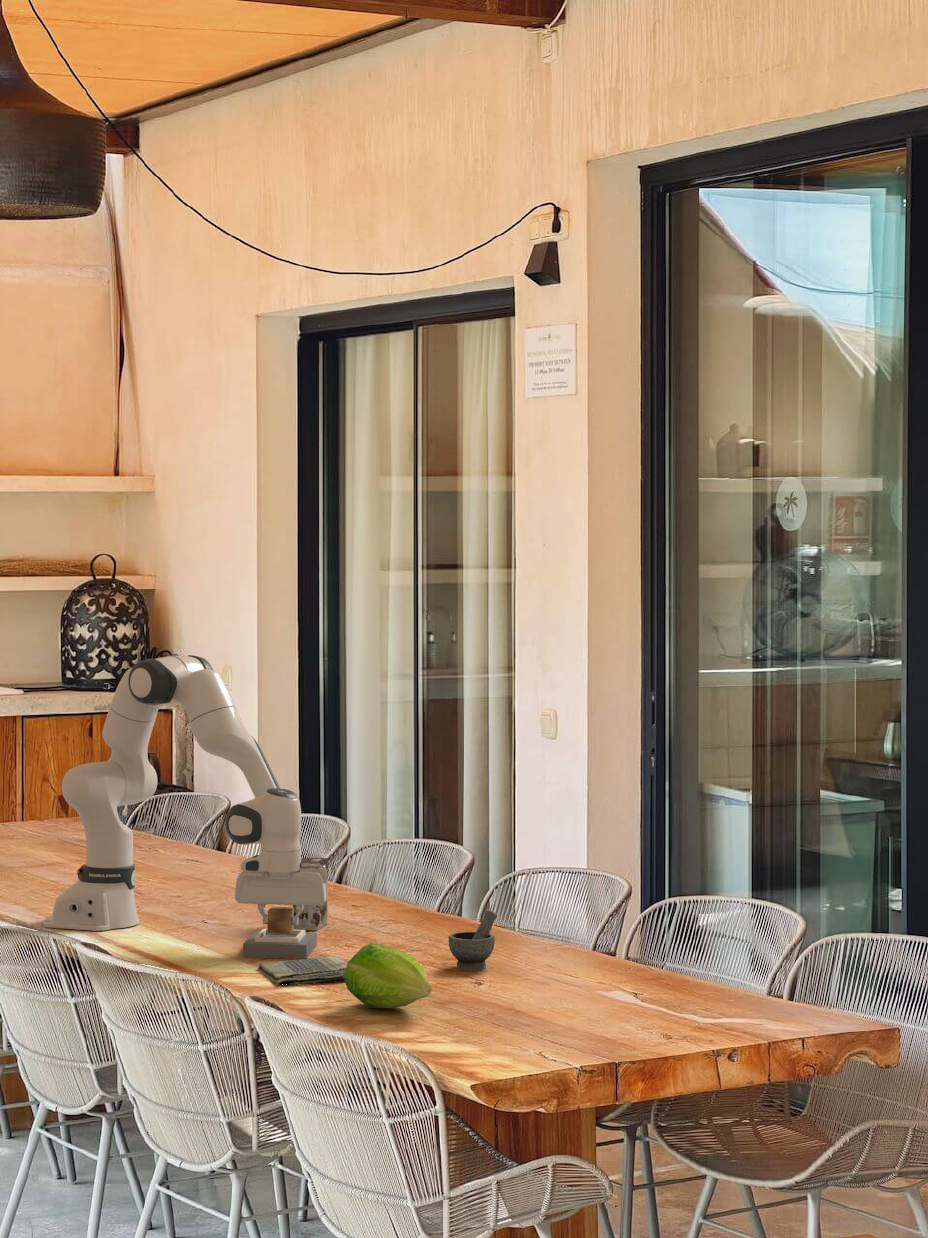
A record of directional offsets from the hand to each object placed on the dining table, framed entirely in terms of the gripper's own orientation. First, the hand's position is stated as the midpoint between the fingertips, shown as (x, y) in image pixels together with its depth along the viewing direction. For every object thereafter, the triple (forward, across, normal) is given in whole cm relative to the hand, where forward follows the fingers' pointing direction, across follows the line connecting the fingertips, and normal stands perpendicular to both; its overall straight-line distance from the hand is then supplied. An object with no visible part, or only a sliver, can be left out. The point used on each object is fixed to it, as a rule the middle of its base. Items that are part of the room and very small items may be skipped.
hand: (280, 924), depth 401 cm
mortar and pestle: (+6, -44, +11) cm, 46 cm away
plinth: (+6, 0, 0) cm, 6 cm away
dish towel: (+7, -10, +23) cm, 26 cm away
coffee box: (+6, -2, -29) cm, 30 cm away
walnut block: (+2, 0, 0) cm, 2 cm away
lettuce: (+6, -31, +52) cm, 61 cm away
